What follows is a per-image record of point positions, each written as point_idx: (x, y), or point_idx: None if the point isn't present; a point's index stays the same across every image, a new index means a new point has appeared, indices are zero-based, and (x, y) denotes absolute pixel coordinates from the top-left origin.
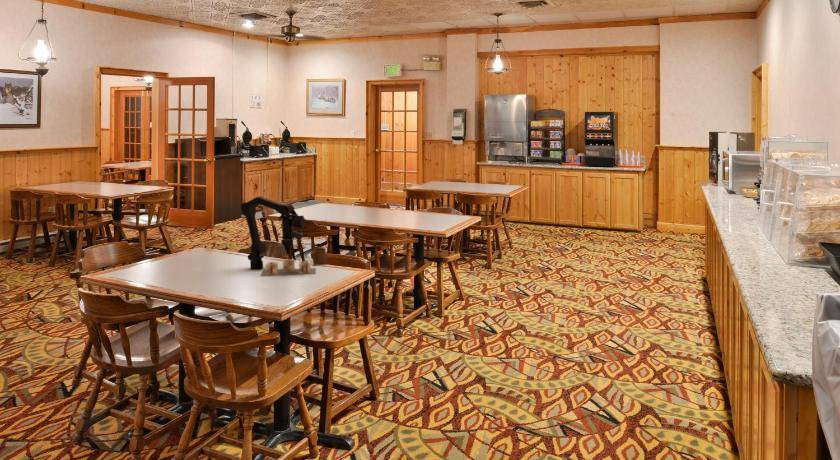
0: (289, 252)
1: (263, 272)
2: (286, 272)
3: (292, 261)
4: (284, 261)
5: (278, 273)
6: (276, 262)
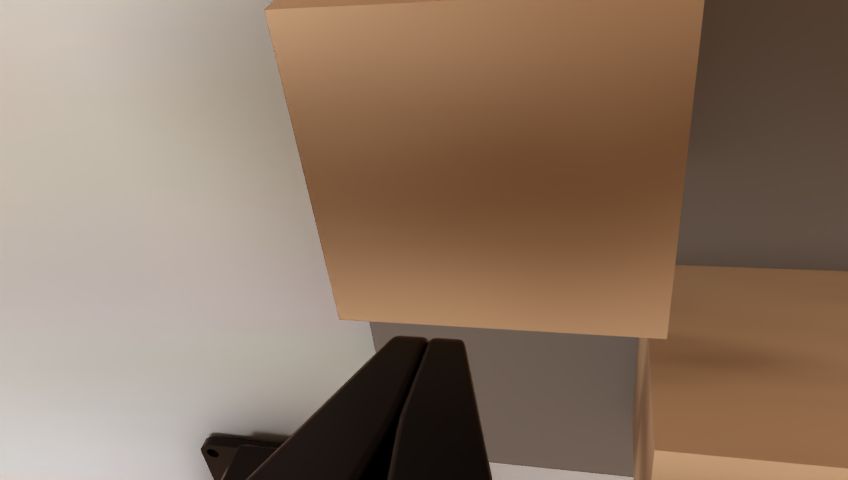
0: (472, 390)
1: (589, 454)
2: (698, 95)
3: (696, 47)
4: (616, 302)
5: (759, 252)
6: (716, 472)
